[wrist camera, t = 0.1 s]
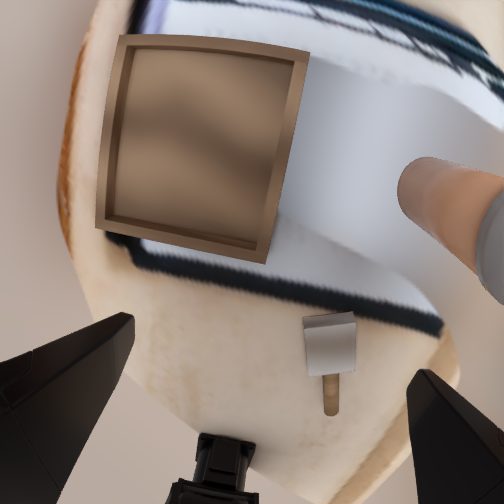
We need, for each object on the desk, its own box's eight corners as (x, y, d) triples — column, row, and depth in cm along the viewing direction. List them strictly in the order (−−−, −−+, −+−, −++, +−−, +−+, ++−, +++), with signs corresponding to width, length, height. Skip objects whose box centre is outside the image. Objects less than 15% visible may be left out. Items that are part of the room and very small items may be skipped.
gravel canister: (445, 233, 22) (539, 313, 11) (386, 216, 22) (467, 298, 11) (464, 167, 20) (578, 208, 9) (404, 144, 20) (512, 167, 9)
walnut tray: (266, 253, 24) (265, 264, 22) (107, 220, 24) (95, 228, 22) (307, 59, 18) (310, 52, 16) (131, 41, 18) (119, 35, 17)
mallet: (350, 403, 28) (352, 414, 27) (310, 408, 29) (311, 420, 28) (352, 311, 25) (356, 322, 23) (302, 317, 25) (303, 329, 24)
